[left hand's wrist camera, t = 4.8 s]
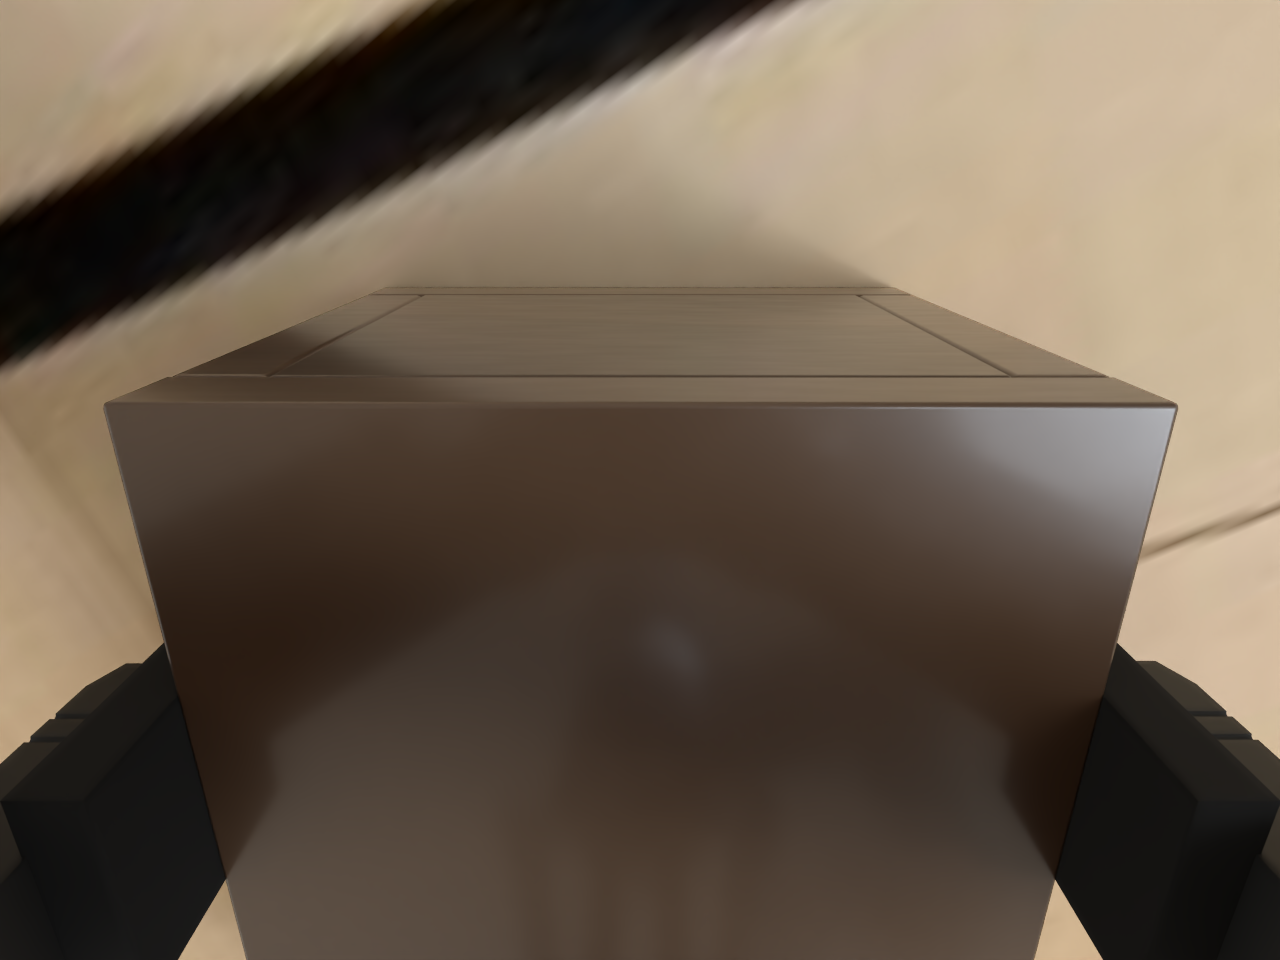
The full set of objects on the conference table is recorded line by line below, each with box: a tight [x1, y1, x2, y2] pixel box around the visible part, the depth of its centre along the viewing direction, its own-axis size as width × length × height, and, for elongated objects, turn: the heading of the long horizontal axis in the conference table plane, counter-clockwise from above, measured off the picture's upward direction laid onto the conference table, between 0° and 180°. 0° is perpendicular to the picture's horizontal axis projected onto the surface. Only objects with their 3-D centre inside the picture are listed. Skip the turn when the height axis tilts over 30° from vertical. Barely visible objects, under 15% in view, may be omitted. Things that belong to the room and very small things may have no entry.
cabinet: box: [103, 288, 1178, 960], centre depth 15 cm, size 20×10×9 cm, turn 0°
